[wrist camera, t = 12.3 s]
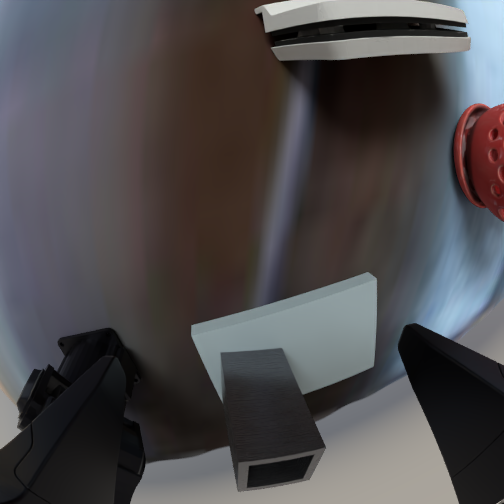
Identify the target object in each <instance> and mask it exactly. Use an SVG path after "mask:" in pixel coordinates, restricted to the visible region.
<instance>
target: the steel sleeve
mask: <svg viewBox="0 0 504 504" xmlns="http://www.w3.org/2000/svg"><path fill="white" fill-rule="evenodd" d="M220 357H221V389H222V399H223V406H224V413H225V420H226V426H227V433H228V439H229V445H230V451H231V456H232V462H233V468H234V473H235V479H236V484H237V489H238V491H249V490H257V489H264V488H270V487H276V486H282V485H287V484H292V483H297V482H302V481H306V480H309V479H310V478H311V476H312V474H313V472H314V470H315V468H316V466H317V465H318V462H319V461H320V459H321V457H322V455H323V453H324V451H325V449H326V447H325V444H324V442H323V440H322V437H321V435H320V433H319V431H318V428H317V426H316V424H315V422H314V420H313V417H312V415H311V413H310V411H309V408H308V406H307V404H306V401H305V399H304V397H303V395H302V392H301V390H300V388H299V386H298V383H297V381H296V379H295V377H294V374H293V372H292V370H291V367H290V365H289V363H288V361H287V358H286V356H285V354H284V351H283V349H282V348H275V349H264V350H252V351H237V352H220Z"/></svg>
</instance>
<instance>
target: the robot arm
mask: <svg viewBox="0 0 504 504" xmlns="http://www.w3.org/2000/svg"><path fill="white" fill-rule="evenodd" d="M107 333H110V334H111V335H108V334H107ZM62 343H63V344H62ZM58 345H59V347H60V349H61V350H62V352H63V353H64V355H65V357H64V359H63V361H62V363H61V365H60V367H59V369H58V371H55V370H54V368H53V367H52V366H51V365H50V364H48V366H47V367H46V369H45V370H44V369H42V370H37V369H34V370H33V372H32V373H31V375H30V377H29V379H28V381H27V383H26V384H25V386H24V388H23V390H22V392H21V395H20V397H19V399H18V401H17V407H18V410H19V417H18V418H19V422H18V426H17V428H19V429H20V430H21V431H22V432H21V433H19V434H18V435H17V436H16V437H15V438H14V439H13V440H12V441H10V442H9V443H8V444H7V445H6V446H4V447H3V448H2V449H0V504H130V501H131V498H132V495H133V493H134V490H135V488H136V486H137V485H138V483H139V482H140V480H141V478H142V475H143V472H144V469H145V462H146V459H145V453H144V448H143V443H142V438H141V432H140V426H139V424H138V423H136V422H134V421H131V420H129V419H127V418H125V417H124V411H125V406H126V401H130V399H131V395H132V390H133V384H139V383H140V381H141V377H140V375H139V374H138V372H137V368H136V367H135V365H134V363H133V362H132V360H131V358H130V357H129V355H128V353H127V351H126V350H125V349H124V348H123V347H122V345H121V343H120V341H119V340H118V338H117V336H116V334H115V332H114V331H113V330H112V329H111V328H104V329H100V330H95V331H91V332H86V333H81V334H77V335H72V336H67V337H62V338H60V339H59V340H58ZM398 351H399V354H400V356H401V359H402V361H403V364H404V367H405V369H406V372H407V375H408V378H409V380H410V383H411V385H412V388H413V390H414V392H415V394H416V396H417V398H418V401H419V403H420V405H421V407H422V409H423V412H424V414H425V416H426V418H427V420H428V423H429V425H430V427H431V430H432V432H433V434H434V437H435V439H436V441H437V444H438V446H439V449H440V451H441V454H442V456H443V459H444V461H445V464H446V467H447V469H448V472H449V475H450V477H451V480H452V484H453V486H454V489H455V492H456V495H457V498H458V501H459V504H496V503H498V502H499V501H501V500H502V501H501V502H500V503H499V504H504V365H502V364H500V363H497V362H496V361H494V360H491V359H489V358H487V357H485V356H483V355H481V354H479V353H477V352H475V351H473V350H471V349H469V348H467V347H465V346H463V345H460V344H458V343H456V342H454V341H452V340H450V339H448V338H446V337H444V336H442V335H440V334H438V333H435V332H433V331H431V330H429V329H427V328H425V327H423V326H421V325H419V324H416V323H413V324H409V325H406V326H405V327H404V328H403V331H402V334H401V337H400V340H399V343H398ZM135 378H136V379H135Z"/></svg>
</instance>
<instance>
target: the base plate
mask: <svg viewBox="0 0 504 504" xmlns="http://www.w3.org/2000/svg"><path fill="white" fill-rule="evenodd" d="M376 318H377V279H376V278H375V277H374V276H373V275H371V274H370V273H369V272H367V273H364V274H361V275H358V276H355V277H352V278H350V279H347V280H344V281H341V282H338V283H335V284H332V285H329V286H326V287H323V288H320V289H316V290H313V291H310V292H307V293H304V294H301V295H298V296H294V297H291V298H288V299H285V300H281V301H278V302H275V303H271V304H268V305H264V306H261V307H258V308H254V309H251V310H247V311H243V312H240V313H236V314H233V315H229V316H225V317H222V318H218V319H214V320H210V321H206V322H203V323H199V324H195V325H192V330H191V336H192V338H193V341H194V343H195V345H196V347H197V350H198V352H199V354H200V356H201V359H202V361H203V363H204V365H205V367H206V370H207V372H208V374H209V376H210V378H211V380H212V382H213V384H214V386H215V388H216V391H217V393H218V395H219V397H220V399H221V401H222V403H223V399H222V389H221V357H220V352H237V351H252V350H264V349H275V348H282V349H283V351H284V354H285V356H286V358H287V361H288V363H289V365H290V367H291V370H292V372H293V374H294V377H295V379H296V381H297V383H298V386H299V388H300V390H301V392H302V395H303V394H306V393H309V392H312V391H314V390H317V389H320V388H323V387H325V386H328V385H331V384H333V383H336V382H338V381H341V380H343V379H346V378H348V377H351V376H353V375H355V374H358V373H360V372H362V371H365V370H367V369H369V368H371V367H374V357H375V341H376Z"/></svg>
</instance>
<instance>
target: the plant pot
mask: <svg viewBox="0 0 504 504" xmlns="http://www.w3.org/2000/svg"><path fill="white" fill-rule="evenodd" d="M454 162H455V168H456V173H457V177H458V180H459V183H460V186H461V188H462V190H463V192H464V194H465V195H466V197H467V198H468V200H469V201H470V202H471V203H472V204H474V205H475V206H477V207H480V208H488V209H489V210H490V211H491V212H492V213H493V214H494V215H495V216H496V217H497V218H499V219H500V220H502V221H503V222H504V104H501V105H498V106H495V107H493V108H489V107H488V106H486V105H484V104H474V105H472V106H470V107H468V108H467V109H466V110H465V111H464V113H463V114H462V116H461V117H460V119H459V122H458V124H457V128H456V132H455V137H454Z"/></svg>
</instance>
